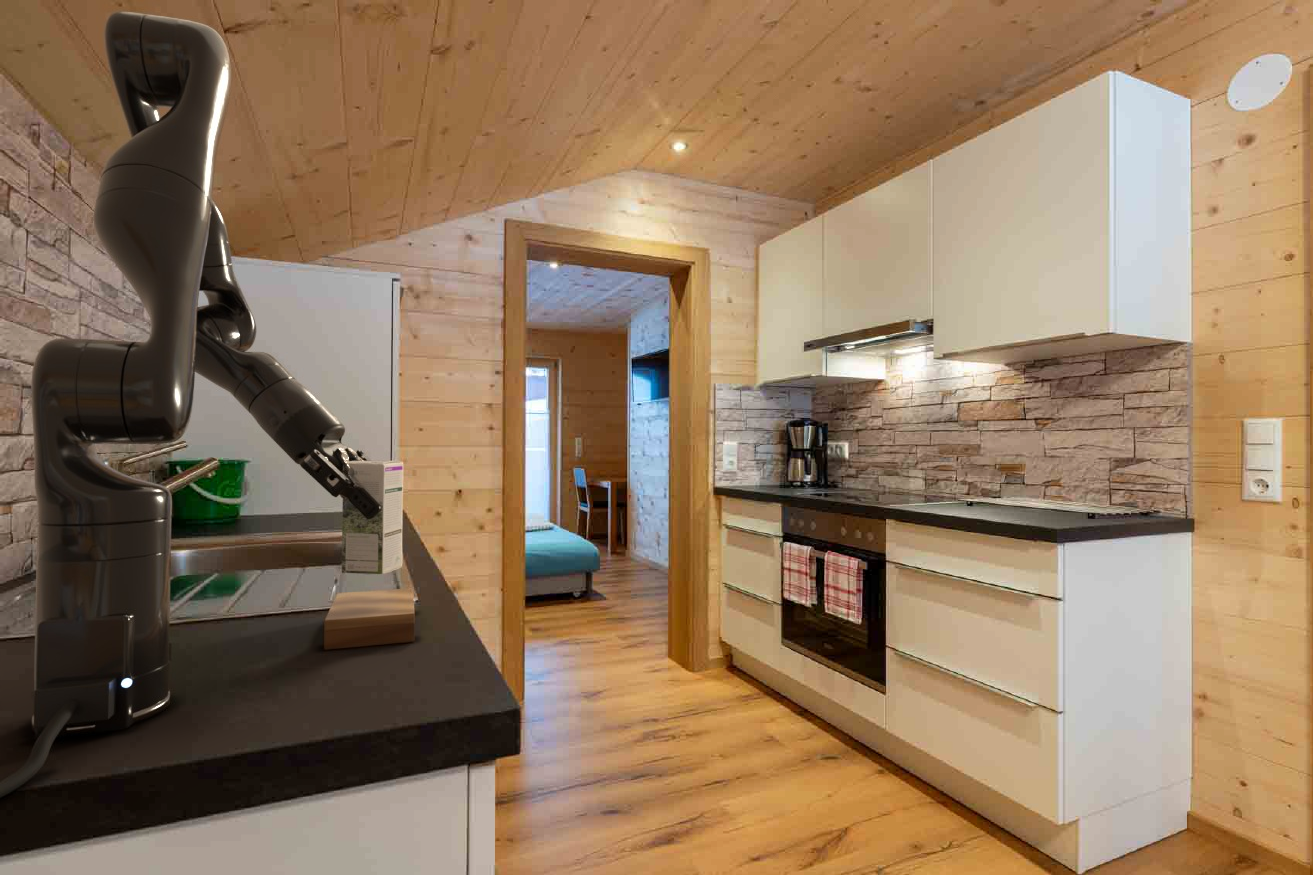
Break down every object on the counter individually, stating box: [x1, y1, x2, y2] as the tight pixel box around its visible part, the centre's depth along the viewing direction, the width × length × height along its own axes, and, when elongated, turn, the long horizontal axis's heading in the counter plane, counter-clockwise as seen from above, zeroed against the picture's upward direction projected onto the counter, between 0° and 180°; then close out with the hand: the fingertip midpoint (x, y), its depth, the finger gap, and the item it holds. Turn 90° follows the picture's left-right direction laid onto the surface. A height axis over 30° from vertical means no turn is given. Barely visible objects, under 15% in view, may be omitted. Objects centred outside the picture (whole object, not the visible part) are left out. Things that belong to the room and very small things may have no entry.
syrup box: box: [341, 460, 404, 575], centre depth 89 cm, size 6×6×14 cm
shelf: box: [323, 587, 416, 651], centre depth 88 cm, size 16×10×4 cm, turn 21°
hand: (386, 511), depth 89 cm, fingers closed on syrup box, 6 cm apart
